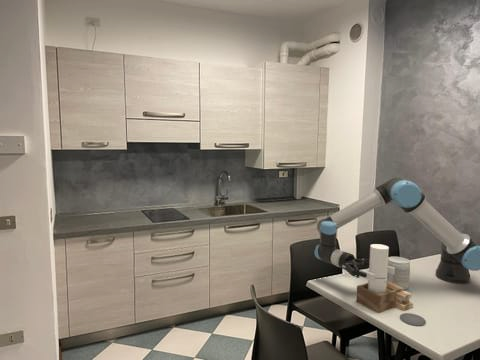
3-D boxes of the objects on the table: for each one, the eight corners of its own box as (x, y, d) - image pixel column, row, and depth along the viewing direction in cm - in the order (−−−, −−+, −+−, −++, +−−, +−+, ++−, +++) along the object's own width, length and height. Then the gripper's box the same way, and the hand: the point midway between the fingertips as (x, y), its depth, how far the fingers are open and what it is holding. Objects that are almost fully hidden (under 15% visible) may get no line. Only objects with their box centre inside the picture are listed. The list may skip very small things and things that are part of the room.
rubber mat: (417, 314, 142) (417, 312, 142) (430, 325, 133) (430, 324, 133) (395, 314, 141) (395, 313, 141) (407, 326, 132) (407, 325, 132)
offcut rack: (382, 293, 161) (383, 278, 160) (413, 307, 148) (414, 291, 147) (356, 301, 153) (356, 285, 152) (386, 316, 139) (387, 299, 139)
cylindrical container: (363, 301, 153) (366, 244, 150) (377, 299, 155) (380, 243, 152) (374, 308, 146) (378, 249, 143) (389, 306, 148) (392, 248, 145)
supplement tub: (412, 291, 163) (415, 260, 161) (400, 296, 158) (402, 264, 156) (393, 284, 171) (395, 254, 169) (381, 288, 166) (383, 258, 164)
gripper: (360, 262, 171) (401, 276, 154) (324, 273, 157) (364, 290, 140) (361, 247, 170) (402, 260, 153) (324, 256, 157) (365, 271, 139)
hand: (384, 274), depth 146 cm, fingers open, 13 cm apart
